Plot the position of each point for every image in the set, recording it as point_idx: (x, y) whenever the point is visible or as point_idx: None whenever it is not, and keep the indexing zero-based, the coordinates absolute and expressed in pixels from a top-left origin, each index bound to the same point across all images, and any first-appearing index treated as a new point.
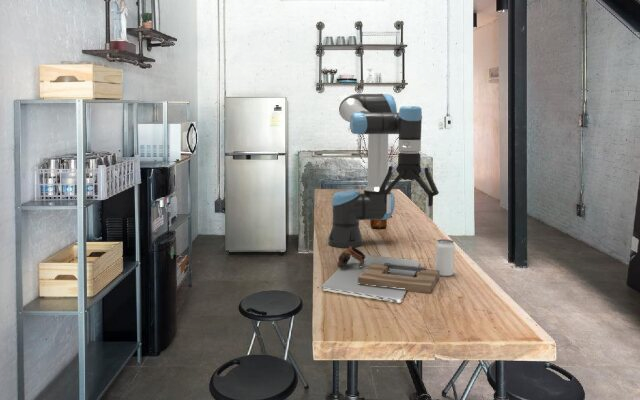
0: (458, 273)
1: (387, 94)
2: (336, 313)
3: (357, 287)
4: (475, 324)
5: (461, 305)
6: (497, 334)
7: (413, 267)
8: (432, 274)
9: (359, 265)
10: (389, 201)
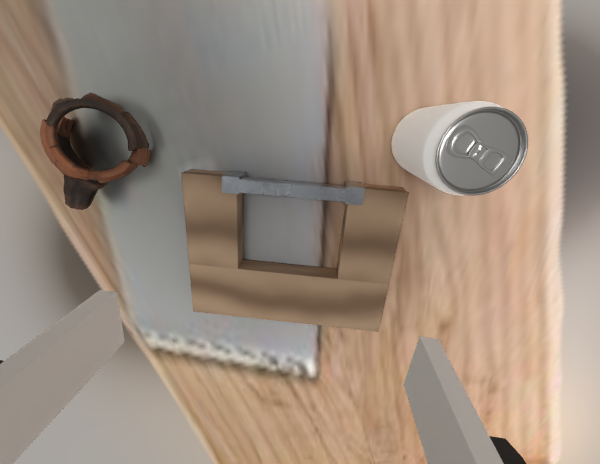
0: None
1: None
2: (222, 430)
3: (207, 316)
4: None
5: None
6: None
7: (321, 199)
8: (384, 240)
9: (142, 165)
10: (37, 416)
